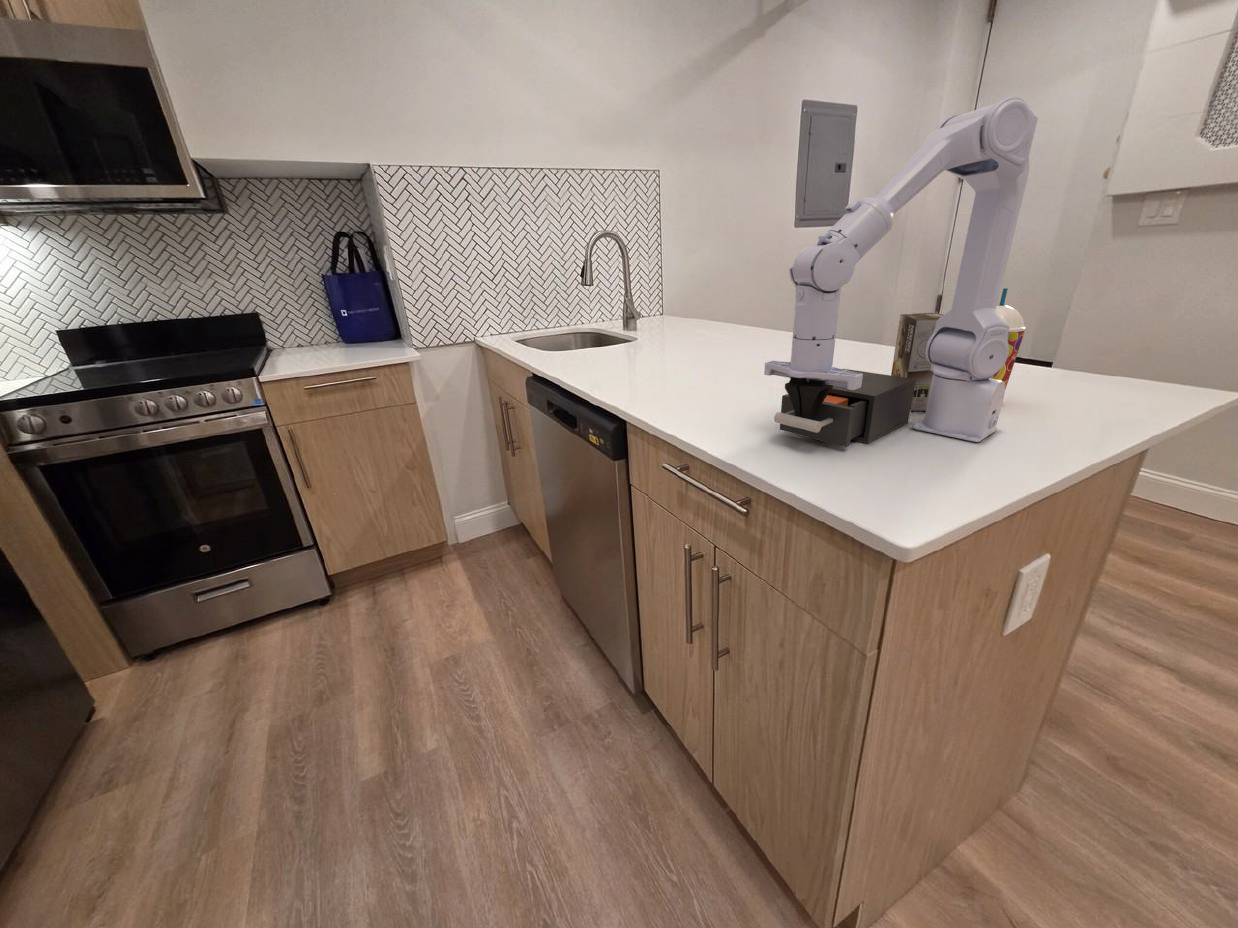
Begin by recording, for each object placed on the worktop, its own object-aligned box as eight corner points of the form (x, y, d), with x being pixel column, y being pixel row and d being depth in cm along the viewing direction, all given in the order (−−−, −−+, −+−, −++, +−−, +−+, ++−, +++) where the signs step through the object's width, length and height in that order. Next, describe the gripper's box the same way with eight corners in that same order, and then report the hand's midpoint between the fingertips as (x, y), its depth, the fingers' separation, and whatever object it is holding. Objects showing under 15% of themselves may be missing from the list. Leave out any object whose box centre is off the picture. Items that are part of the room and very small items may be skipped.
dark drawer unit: (867, 444, 77) (875, 396, 74) (795, 426, 86) (799, 382, 83) (908, 423, 85) (916, 379, 82) (837, 408, 94) (842, 368, 91)
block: (845, 425, 80) (848, 398, 78) (830, 432, 77) (833, 404, 75) (819, 419, 83) (822, 393, 81) (804, 426, 80) (807, 399, 79)
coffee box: (939, 411, 89) (958, 318, 83) (900, 411, 91) (916, 319, 84) (922, 397, 98) (938, 311, 91) (886, 397, 99) (899, 312, 93)
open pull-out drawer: (827, 456, 71) (831, 417, 69) (760, 437, 80) (762, 402, 77) (886, 427, 81) (892, 392, 79) (821, 412, 89) (825, 380, 87)
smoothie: (944, 396, 98) (966, 287, 90) (991, 395, 97) (1018, 285, 89) (965, 408, 90) (991, 291, 82) (1016, 408, 89) (1048, 289, 81)
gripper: (754, 336, 74) (749, 423, 79) (848, 346, 63) (835, 446, 69) (782, 330, 78) (776, 413, 83) (875, 338, 67) (861, 433, 73)
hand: (804, 427), depth 76 cm, fingers closed, pressing on open pull-out drawer
